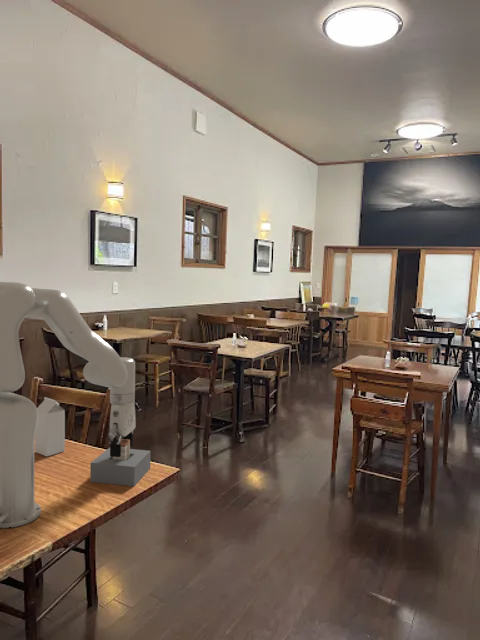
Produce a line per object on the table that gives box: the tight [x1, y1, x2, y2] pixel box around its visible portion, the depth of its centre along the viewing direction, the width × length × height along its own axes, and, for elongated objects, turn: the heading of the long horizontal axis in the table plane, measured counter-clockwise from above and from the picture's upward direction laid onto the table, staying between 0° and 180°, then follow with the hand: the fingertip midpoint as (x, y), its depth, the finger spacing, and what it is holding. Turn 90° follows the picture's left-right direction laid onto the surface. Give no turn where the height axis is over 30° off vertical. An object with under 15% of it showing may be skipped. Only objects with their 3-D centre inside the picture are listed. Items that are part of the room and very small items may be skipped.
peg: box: [113, 438, 131, 461], centre depth 152 cm, size 4×4×11 cm
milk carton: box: [34, 396, 66, 457], centre depth 169 cm, size 7×7×19 cm
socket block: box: [89, 447, 151, 487], centre depth 152 cm, size 14×14×6 cm
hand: (121, 450), depth 152 cm, fingers open, 9 cm apart
